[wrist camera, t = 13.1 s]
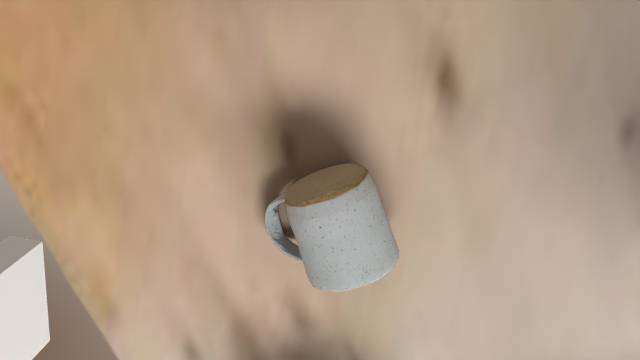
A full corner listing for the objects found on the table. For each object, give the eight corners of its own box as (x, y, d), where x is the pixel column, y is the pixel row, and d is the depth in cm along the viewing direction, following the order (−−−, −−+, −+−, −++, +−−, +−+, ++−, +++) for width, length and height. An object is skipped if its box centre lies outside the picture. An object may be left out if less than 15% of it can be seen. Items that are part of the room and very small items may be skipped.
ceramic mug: (370, 148, 45) (362, 184, 38) (401, 234, 47) (399, 283, 40) (254, 184, 47) (226, 223, 40) (289, 264, 50) (268, 314, 43)
